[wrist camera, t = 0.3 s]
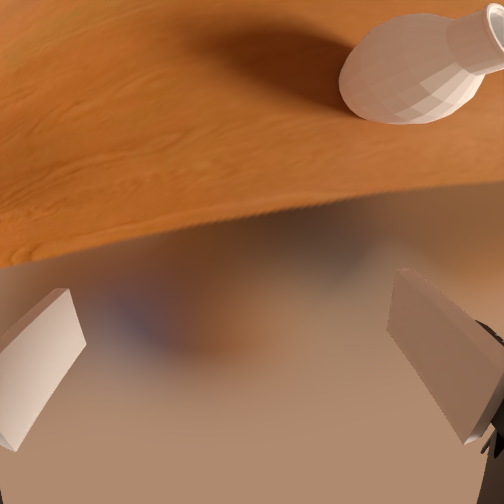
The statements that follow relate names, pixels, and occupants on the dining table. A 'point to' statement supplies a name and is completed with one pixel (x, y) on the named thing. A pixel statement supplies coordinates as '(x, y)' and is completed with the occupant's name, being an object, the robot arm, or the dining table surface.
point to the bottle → (422, 65)
